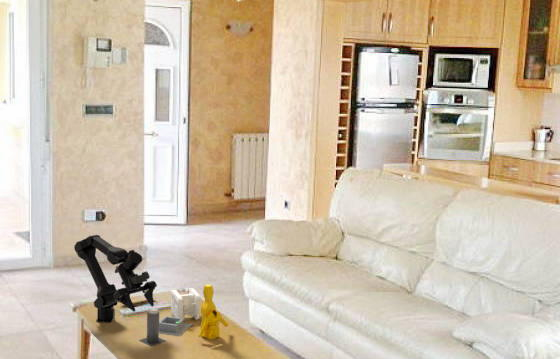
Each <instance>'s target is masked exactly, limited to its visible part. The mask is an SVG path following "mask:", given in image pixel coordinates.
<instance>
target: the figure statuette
mask: <svg viewBox="0 0 560 359" xmlns="http://www.w3.org/2000/svg"><path fill="white" fill-rule="evenodd" d="M214 291H215V290H214V287H213V285H211V284H206V285H204V286H203V298H204V302H203V304H202V306H201V308H200V314H201V323H200V329H199V330H200V331H199V333H198V337H199V338H201V337H202V338H206V339H208V340H216V339H217V338H219V337H220V326H219V324H220V323H221V324H222V325H223V326H224V327H225V328H226V327H229V324H228V322H227V321H226V320H225V319H224V317H223V316H222V315H221V312H219V311H217V307H216V305H215V302H214V301H213V297H214Z"/></svg>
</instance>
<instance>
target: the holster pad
mask: <svg viewBox="0 0 560 359" xmlns="http://www.w3.org/2000/svg"><path fill="white" fill-rule="evenodd" d="M138 341H139V342H140V343H143V344H145V345H147V346H149V347H155V346H156V345H160V344H162V343H163V344H164V343H166V342H167V340H165V339H164V338H161V337H159V341H158V342H157V343H148V342H147V337H144V338H143V339H139V340H138Z"/></svg>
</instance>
